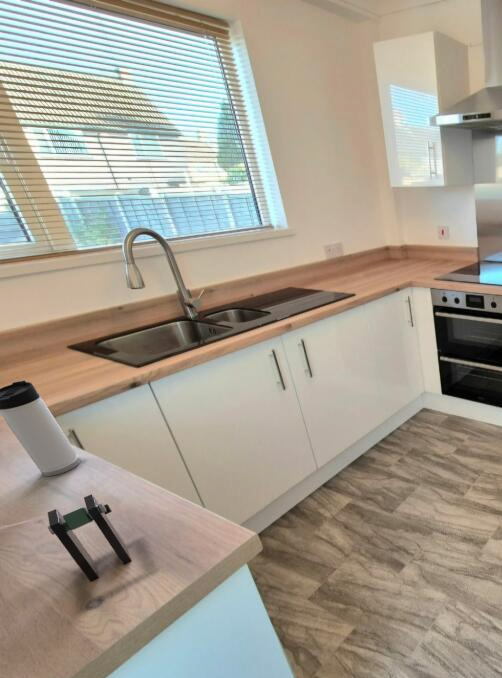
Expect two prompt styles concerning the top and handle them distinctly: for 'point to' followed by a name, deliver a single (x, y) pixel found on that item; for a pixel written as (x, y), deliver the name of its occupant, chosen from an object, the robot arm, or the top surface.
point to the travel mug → (36, 429)
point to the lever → (81, 517)
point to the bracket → (75, 546)
